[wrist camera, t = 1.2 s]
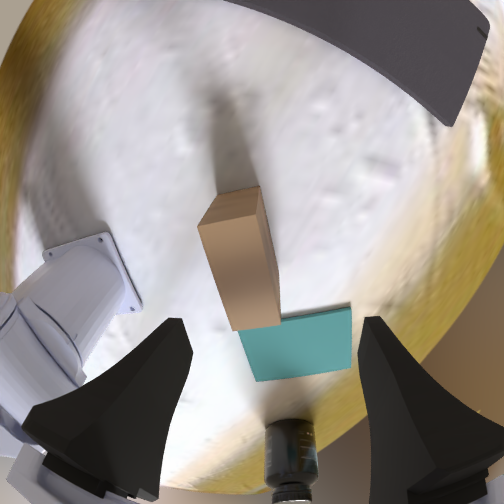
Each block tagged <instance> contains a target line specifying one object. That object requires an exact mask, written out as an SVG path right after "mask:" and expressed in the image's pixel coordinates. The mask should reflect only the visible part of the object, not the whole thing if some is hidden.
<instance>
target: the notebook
mask: <svg viewBox="0 0 504 504" xmlns="http://www.w3.org/2000/svg"><path fill="white" fill-rule="evenodd" d="M224 1H228V2H231V3H234V4H238V5H241V6H244V7H247V8H250V9H253V10H256V11H259V12H262V13H264V14H267V15H270V16H272V17H275V18H277V19H280V20H282V21H285V22H287V23H289V24H292V25H294V26H296V27H298V28H301V29H303V30H305V31H307V32H309V33H311V34H313V35H315V36H317V37H319V38H321V39H323V40H325V41H327V42H329V43H331V44H333V45H335V46H336V47H338V48H340V49H342V50H343V51H345V52H347V53H349V54H350V55H352V56H354V57H355V58H357V59H359V60H360V61H362V62H363V63H365V64H367V65H368V66H370V67H371V68H373V69H374V70H376V71H377V72H379V73H380V74H382V75H383V76H384V77H386V78H387V79H389V80H390V81H392V82H393V83H394V84H396V85H397V86H398V87H400V88H401V89H402V90H404V91H405V92H406V93H407V94H409V95H410V96H411V97H413V98H414V99H415V100H416V101H417V102H419V103H420V104H421V105H422V106H423V107H425V108H426V109H427V110H428V111H429V112H430V113H432V114H433V115H434V116H435V117H436V118H437V119H438V120H439V121H440V122H442V123H443V124H444V125H445V126H449V127H453V125H454V123H455V121H456V119H457V116H458V114H459V112H460V110H461V107H462V105H463V103H464V100H465V98H466V96H467V93H468V91H469V88H470V86H471V83H472V81H473V78H474V75H475V73H476V70H477V67H478V64H479V62H480V59H481V56H482V53H483V50H484V46H485V43H486V40H487V38H488V33H489V30H490V24H489V21H488V20H487V18H486V17H485V16H484V15H483V14H482V12H481V11H480V10H479V9H478V8H476V7H475V6H474V5H473V4H472V3H471V2H470V1H469V0H224Z"/></svg>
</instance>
